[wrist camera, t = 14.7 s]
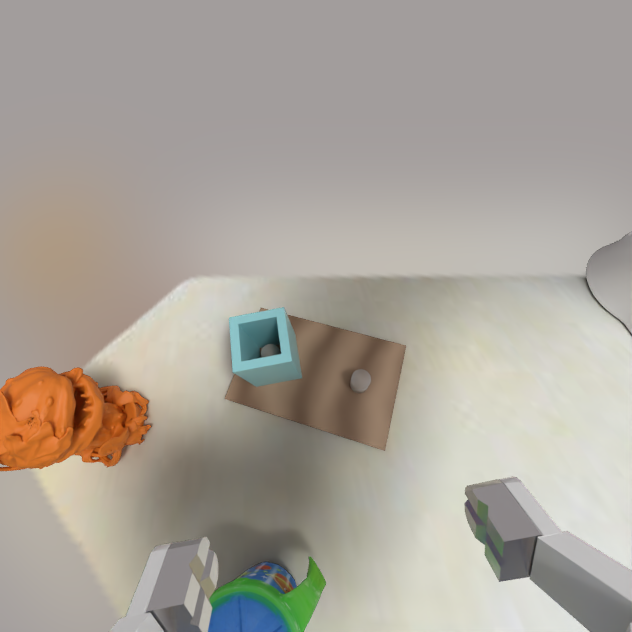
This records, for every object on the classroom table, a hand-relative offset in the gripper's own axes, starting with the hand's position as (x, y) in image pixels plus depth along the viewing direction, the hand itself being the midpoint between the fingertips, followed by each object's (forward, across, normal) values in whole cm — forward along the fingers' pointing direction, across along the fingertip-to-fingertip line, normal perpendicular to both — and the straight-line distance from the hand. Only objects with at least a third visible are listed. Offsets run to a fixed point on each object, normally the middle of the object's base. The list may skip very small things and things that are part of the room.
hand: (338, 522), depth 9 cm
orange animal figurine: (+29, +28, +16) cm, 44 cm away
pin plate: (+30, +1, +14) cm, 33 cm away
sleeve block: (+31, +6, +11) cm, 33 cm away
